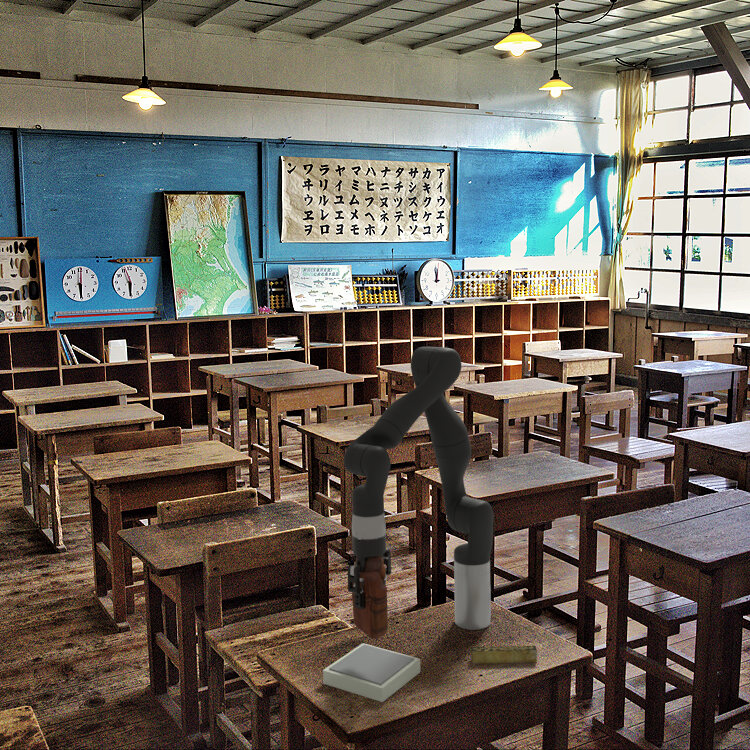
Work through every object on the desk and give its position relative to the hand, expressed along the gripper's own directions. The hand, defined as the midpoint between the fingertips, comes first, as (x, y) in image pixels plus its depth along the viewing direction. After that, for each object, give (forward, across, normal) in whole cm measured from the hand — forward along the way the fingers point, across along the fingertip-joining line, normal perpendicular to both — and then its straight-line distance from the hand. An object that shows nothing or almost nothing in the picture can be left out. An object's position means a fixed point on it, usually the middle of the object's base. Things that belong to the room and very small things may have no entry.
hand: (370, 601), depth 197 cm
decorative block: (+19, -23, +22) cm, 37 cm away
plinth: (+18, 0, 0) cm, 18 cm away
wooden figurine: (+7, 0, 0) cm, 7 cm away
